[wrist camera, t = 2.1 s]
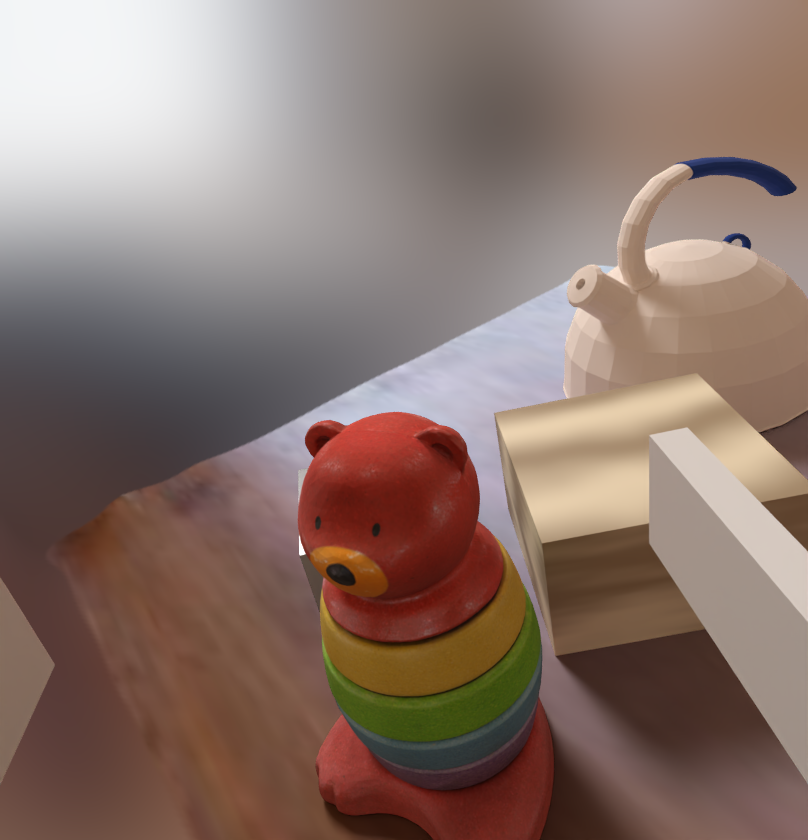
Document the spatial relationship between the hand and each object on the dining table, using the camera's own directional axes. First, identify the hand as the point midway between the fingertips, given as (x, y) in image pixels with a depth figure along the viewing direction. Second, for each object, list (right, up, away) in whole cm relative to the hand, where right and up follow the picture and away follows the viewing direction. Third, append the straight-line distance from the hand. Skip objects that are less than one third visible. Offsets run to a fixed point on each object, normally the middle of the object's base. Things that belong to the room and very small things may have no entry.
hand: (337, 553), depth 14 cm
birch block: (+15, -6, +27) cm, 32 cm away
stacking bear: (+4, -13, +19) cm, 23 cm away
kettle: (+25, +6, +44) cm, 51 cm away
